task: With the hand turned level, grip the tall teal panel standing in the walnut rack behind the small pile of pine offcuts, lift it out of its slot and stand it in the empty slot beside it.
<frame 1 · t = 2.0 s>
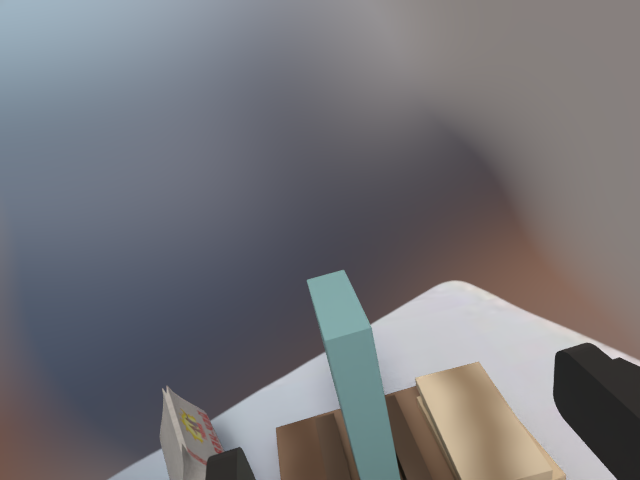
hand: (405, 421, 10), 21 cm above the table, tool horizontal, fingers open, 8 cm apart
pine offcuts: (479, 446, 31), point 1 cm above the table, touching walnut rack
teal panel: (376, 478, 30), point 1 cm above the table, touching walnut rack
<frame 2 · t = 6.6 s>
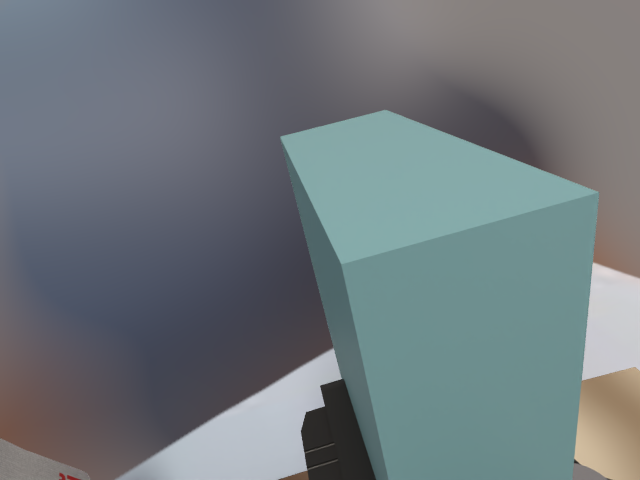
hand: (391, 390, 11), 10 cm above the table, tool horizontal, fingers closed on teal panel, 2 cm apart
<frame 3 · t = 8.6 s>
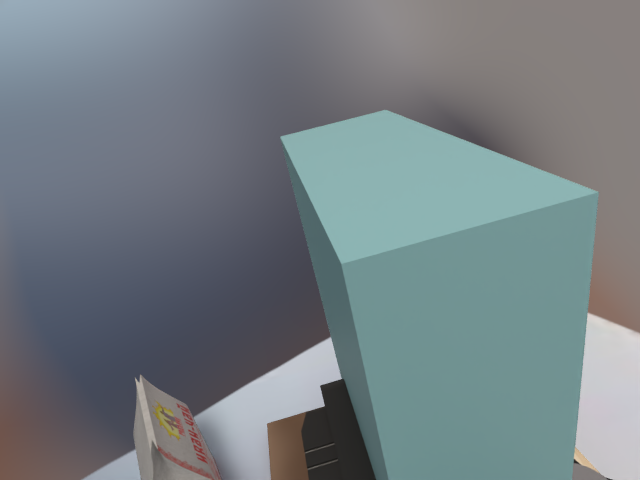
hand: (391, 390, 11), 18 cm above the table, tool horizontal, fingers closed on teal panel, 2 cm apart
when the fingers open (11 cm above the table, at t = 10.7 s): teal panel stays where it is, resting on walnut rack.
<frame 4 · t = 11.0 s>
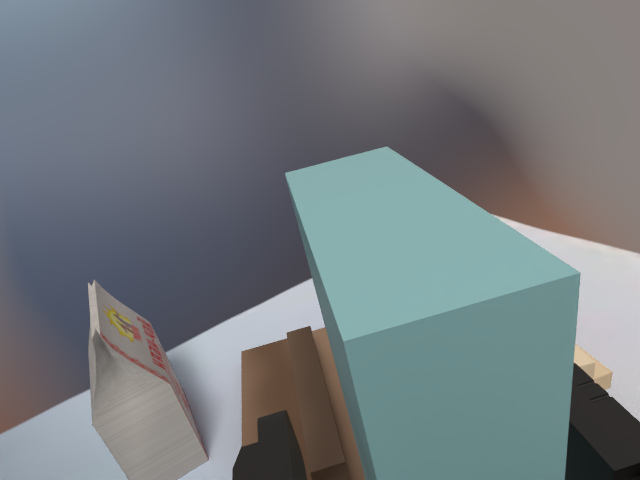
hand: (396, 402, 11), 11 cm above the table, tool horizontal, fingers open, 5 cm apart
pine offcuts: (492, 357, 24), point 1 cm above the table, touching walnut rack
tea bag: (166, 439, 25), on the table
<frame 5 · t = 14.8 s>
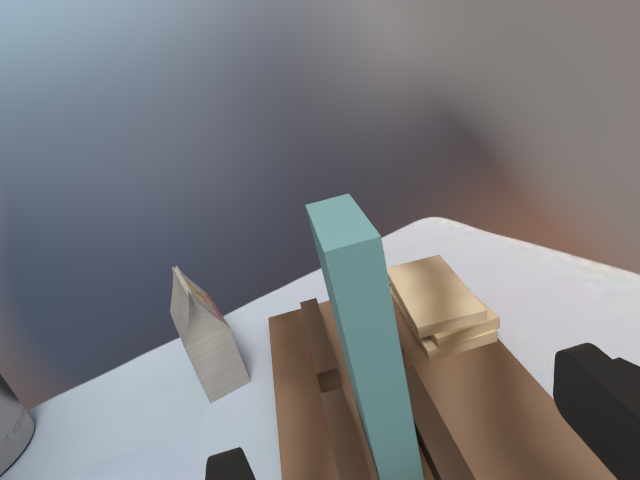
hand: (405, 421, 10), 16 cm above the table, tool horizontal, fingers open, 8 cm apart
pine offcuts: (436, 315, 36), point 1 cm above the table, touching walnut rack
teal panel: (388, 447, 26), point 1 cm above the table, touching walnut rack
walnut rack: (395, 392, 31), on the table
tea bag: (220, 372, 38), on the table
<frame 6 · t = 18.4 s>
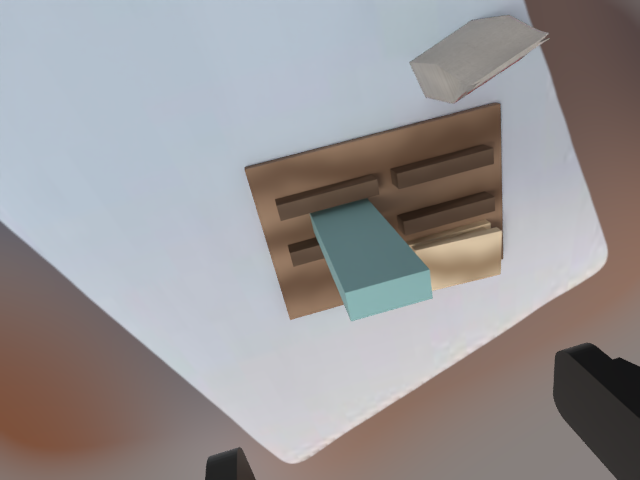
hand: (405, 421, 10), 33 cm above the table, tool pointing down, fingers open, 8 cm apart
pine offcuts: (445, 252, 47), point 1 cm above the table, touching walnut rack
teal panel: (339, 214, 43), point 1 cm above the table, touching walnut rack
walnut rack: (385, 216, 45), on the table
tea bag: (446, 59, 39), on the table
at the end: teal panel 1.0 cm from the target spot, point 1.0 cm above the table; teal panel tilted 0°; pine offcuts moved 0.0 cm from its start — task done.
